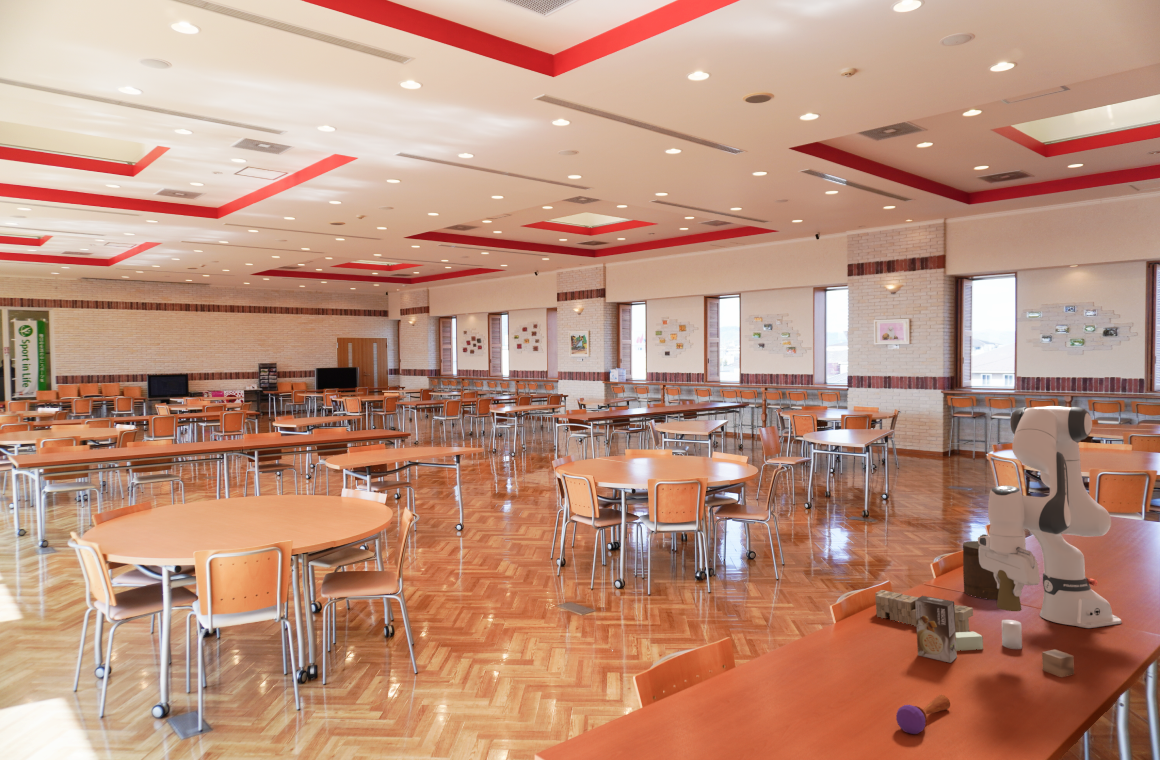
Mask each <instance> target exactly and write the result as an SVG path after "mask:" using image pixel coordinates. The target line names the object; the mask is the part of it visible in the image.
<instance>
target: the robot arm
mask: <svg viewBox="0 0 1160 760" xmlns="http://www.w3.org/2000/svg"><path fill="white" fill-rule="evenodd" d="M1009 423H1010V429H1011V433H1012V434H1013V435H1014V436H1013V439H1012V449H1011V450H1012V453H1013V454H1014V456H1015V458H1016V459H1017V460H1018V461H1019V462H1020V463H1022V464H1024V465H1025V466H1027V467H1028V468H1029V467H1030V469H1031V468H1032V469H1034V470H1038V471H1039V472H1040V475H1039V476H1040V479H1041V482H1042V483H1043V485H1045V486H1046V487H1047V488H1049V495H1047V496H1031V495H1025V494H1022V491H1021V489H1020V487H1017V486H1015V485H998V486H994V487H993V488H991V489H990V491H989V495H988V504H987V505H988V509H987V511H988V512H987V513H988V514H987V516H988V520H989V525H990V526H989V530H988V536H983V537H980V536H979V537H977V541H978V543H979V544H980V546H979V563H980V565H981V567H982V568H984V569H986V570H989V571H991V572H994V578H995V580H996V582H997V588H998V589H999V585H1000V579H999V578H998V571H999V570H1003V571H1004V572H1006V574H1007V577H1008V578H1009V579H1012V580H1014V584H1016V585H1015V587H1014V589H1012V594H1013V595H1014V596H1019V597H1022V590H1023V589H1024V587H1025V586H1027V587H1029V586H1038V585H1039V584H1040V580H1041V579H1040V578H1041V577H1040V571H1039V564H1038V561H1037V559H1036V557H1035V555H1034V554H1033V553H1032V551H1031V550H1027V546H1026V545H1027V544H1026V543H1027V542H1026V531H1025V530H1028V532H1030V533H1031V535H1033V536H1034V537H1035V539H1036V540H1037V542H1038V544H1039V547H1040V549H1041V554H1042V561H1043V573H1042V586H1043V589H1044V590H1043V599H1042V606H1041V609H1040V611H1039V616H1040V617H1041V618H1043V619H1045V620H1047V621H1050V622H1053V623H1057V624H1061V625H1066V626H1067V625H1068V626H1073V627H1074V626H1076V627H1079V628H1085V629H1092V628H1100V627H1105V626H1106V627H1107V626H1113V625H1119V624H1122V623H1123V622H1122V619H1121V618H1119V617H1118V616H1117V615H1114V614H1113V610H1112V607H1111V604H1110V603H1109V601H1108V600H1107V599H1105V598H1104V597H1103V596H1101V595H1100V594H1099V593H1097V592H1096V591H1094V590H1093V589H1092V586H1093V587H1096V586H1098V583H1099V582H1098V580H1097V579H1093V578H1088V577H1086V571H1085V570H1086V569H1085V568H1086V567H1085V556H1084V554H1083V552H1082V551H1081V550H1080V549H1079V548H1077V547H1076V546H1074V545H1072V544H1070V543H1069V542H1067V541H1066V540H1065V539H1064V536H1063V535H1069V536H1078V537H1087V538H1088V537H1103V536H1104V535H1106V534H1107V533H1108V532H1109V530H1110V529H1111V526H1112V518H1111V515H1110V513H1109V511H1108V510H1107V509H1106V508H1105V507H1104V506H1103V505H1101V504H1100V503H1098V502H1097V501H1096V500H1095V499H1094V498H1092V496H1091V495H1090V494H1089V493H1088V491H1087V488H1086V487H1085V485H1084V482H1083V481H1084V480H1083V477H1082V476H1083V475H1082V468H1081V467H1082V466H1081V453H1080V452H1081V451H1080V445H1079V443H1080V442H1081V441H1083V440H1086V438H1088V437H1089V436H1090V434H1091V432H1092V431H1091V430H1092V429H1093V428H1092V427H1093V420H1092V417H1091V414H1090V412H1089V411H1088V410H1086V408H1083V407H1079V406H1071V407H1069V406H1059V405H1058V406H1057V405H1048V406H1035V407H1034V406H1033V407H1020V408H1017V409H1015V410H1014V411H1013V412H1012V413H1011V416H1010V421H1009Z"/></svg>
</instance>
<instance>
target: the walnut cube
mask: <svg viewBox="0 0 1160 760" xmlns="http://www.w3.org/2000/svg"><path fill="white" fill-rule="evenodd" d="M1041 655H1042V657H1041V658H1042V659H1041V660H1042V662H1041V663H1042V671H1043V672H1046V673H1048V674H1051V675H1054V676H1057V677H1059V678H1064V677H1068V676H1073V675H1075V663H1074V660H1075V659H1074V655H1072V654H1069V653H1067V652H1063V651H1061V650H1058V649H1051V650H1047V651H1041Z"/></svg>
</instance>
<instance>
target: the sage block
mask: <svg viewBox="0 0 1160 760" xmlns="http://www.w3.org/2000/svg"><path fill="white" fill-rule="evenodd" d="M976 649H977V650H984V638H983V635H981V634H980V633H978V632H976V631H967V632H956V652H958V651H959V652H960V650H961V651H976Z"/></svg>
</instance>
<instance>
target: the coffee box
mask: <svg viewBox="0 0 1160 760" xmlns="http://www.w3.org/2000/svg"><path fill="white" fill-rule="evenodd" d="M915 603H916V625H917V626H916V643H917V655H918V656H920V657H923V658H928V659H932V660H936V661H941V662H945V663H946V662H947V663H949V664H950V663H951V664H952V662H954V661H955V660H956V658H957V657H958V655H957V652H958V651H957V650H956V632H955V610H954V605H955V601H954V600H947V599H945V598H944V599H943V598H939V597H934V596H933V597H932V596H926V595H921V596H919V598H918V599H917V600H916V601H915Z"/></svg>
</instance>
